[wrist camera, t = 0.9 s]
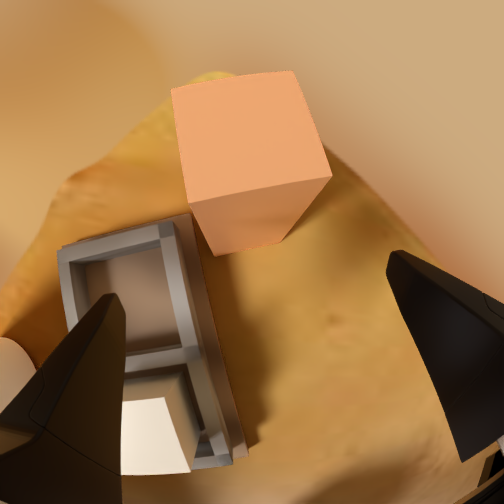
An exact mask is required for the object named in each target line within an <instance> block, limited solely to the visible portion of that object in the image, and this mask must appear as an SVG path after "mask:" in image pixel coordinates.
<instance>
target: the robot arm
mask: <svg viewBox="0 0 504 504" xmlns="http://www.w3.org/2000/svg"><path fill="white" fill-rule="evenodd" d="M386 276H387V279H388V282H389V284H390V287H391V289H392V292H393V294H394V297H395V299H396V302H397V305H398V307H399V310H400V312H401V314H402V316H403V319H404V321H405V323H406V325H407V327H408V329H409V331H410V333H411V335H412V337H413V339H414V342H415V344H416V346H417V348H418V350H419V352H420V355H421V357H422V359H423V361H424V364H425V366H426V368H427V371H428V373H429V375H430V378H431V380H432V382H433V385H434V387H435V390H436V392H437V395H438V397H439V400H440V402H441V405H442V407H443V410H444V412H445V416H446V419H447V421H448V424H449V427H450V430H451V433H452V435H453V438H454V441H455V444H456V447H457V451H458V454H459V457H460V460H461V462H462V463H463V462H465V461H466V460H468V459H470V458H471V457H473V456H474V455H476V454H477V453H479V452H480V451H482V450H483V449H485V448H486V447H488V446H489V445H491V444H492V443H494V442H495V441H496V442H497V444H498V446H499V448H500V449H498V450H497V451H496V452H494V453H493V454H492V455H490V456H489V457H487V458H486V461H485V465H484V468H483V471H482V474H481V478H480V481H479V483H478V486H477V487H478V488H477V489H475V490H474V491H472V492H471V493H469V494H468V495H466V496H465V497H463V498H462V499H460V500H458V501H457V502H455V503H454V504H504V304H503V303H501V302H499V301H497V300H496V299H494V298H492V297H490V296H489V295H487V294H485V293H482V292H481V291H480V290H478V289H476V288H474V287H473V286H471V285H469V284H467V283H465V282H463V281H461V280H460V279H458V278H456V277H454V276H452V275H451V274H449V273H447V272H445V271H443V270H441V269H439V268H437V267H435V266H433V265H431V264H430V263H428V262H426V261H424V260H422V259H420V258H418V257H416V256H414V255H412V254H410V253H408V252H406V251H404V250H396V251H392V252H391V253H390V256H389V260H388V264H387V268H386ZM125 363H126V313H125V310H124V308H123V305H122V303H121V301H120V299H119V297H118V295H117V294H116V293H114V292H112V293H105V294H103V295H102V296H101V297H100V298H99V299H98V300H97V302H96V303H95V304H94V305H93V306H92V307H91V308H90V309H89V310H88V311H87V313H86V314H85V315H84V316H83V317H82V318H81V319H80V320H79V322H78V323H77V324H76V325H75V326H74V327H73V328H72V329H71V331H70V332H69V333H68V334H67V335H66V336H65V338H64V339H63V340H62V341H61V342H60V343H59V345H58V346H57V347H56V348H55V349H54V351H53V352H52V353H51V354H50V355H49V357H48V358H47V359H46V360H45V361H44V363H43V364H42V367H40V368H39V369H38V370H37V371H36V373H35V374H34V375H33V376H32V377H31V379H30V380H29V381H28V382H27V384H26V385H25V386H24V387H23V388H22V389H21V391H20V392H19V393H18V394H17V395H16V396H15V397H14V398H13V400H12V401H11V402H10V403H9V404H8V405H7V406H6V407H5V409H4V410H3V411H2V412H1V413H0V504H122V486H121V423H122V402H123V387H124V375H125Z"/></svg>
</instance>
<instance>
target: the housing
mask: <svg viewBox="0 0 504 504" xmlns="http://www.w3.org/2000/svg"><path fill="white" fill-rule="evenodd" d="M57 260H58V269H59V278H60V285H61V292H62V298H63V304H64V310H65V316H66V321H67V326H68V331H69V332H70V331H71V329H72V328H73V327H74V326H75V325H76V324H77V323H78V322H79V320H80V319H81V318H82V317H83V316H84V315H85V314H86V313H87V311H88V310H89V309H90V308H91V307H92V306H93V305H94V304H95V303H96V302H97V300H98V299H99V298H100V297H101V296H102V295H103V294H105V293H112V292H114V293H116V294H117V295H118V297H119V299H120V301H121V303H122V305H123V308H124V310H125V313H126V363H125V375H124V380H126V379H134V378H142V377H149V376H156V375H163V374H170V373H176V372H182V371H183V374H184V378H185V381H186V385H187V388H188V392H189V395H190V398H191V402H192V405H193V408H194V412H195V415H196V418H197V421H198V424H199V427H200V430H201V433H200V437H199V441H198V445H197V449H196V453H195V457H194V461H193V465H192V469H191V470H195V469H204V468H212V467H219V466H226V465H232V464H233V459H236V458H241V457H247V456H249V451H248V447H247V443H246V440H245V437H244V433H243V430H242V426H241V423H240V419H239V416H238V412H237V409H236V405H235V401H234V398H233V394H232V390H231V387H230V383H229V379H228V375H227V371H226V367H225V364H224V360H223V356H222V352H221V348H220V344H219V339H218V335H217V331H216V327H215V323H214V319H213V314H212V310H211V306H210V301H209V297H208V292H207V288H206V283H205V278H204V274H203V269H202V264H201V260H200V255H199V250H198V245H197V240H196V235H195V230H194V224H193V219H192V216H191V214H190V213H187V214H183V215H179V216H175V217H170V218H166V219H162V220H158V221H154V222H150V223H146V224H142V225H138V226H134V227H130V228H126V229H122V230H118V231H114V232H111V233H107V234H103V235H100V236H96V237H92V238H89V239H85V240H81V241H78V242H74V243H71V244H67V245H64V246H62V249H61V250H57Z"/></svg>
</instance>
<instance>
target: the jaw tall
mask: <svg viewBox="0 0 504 504" xmlns="http://www.w3.org/2000/svg"><path fill="white" fill-rule="evenodd" d="M171 95H172V102H173V110H174V117H175V124H176V131H177V138H178V145H179V151H180V157H181V164H182V170H183V176H184V182H185V187H186V193H187V199H188V204H189V206H190V208H191V210H192V212H193V214H194V216H195V218H196V220H197V222H198V224H199V226H200V228H201V230H202V233H203V235H204V237H205V239H206V241H207V243H208V245H209V247H210V249H211V251H212V253H213V255H214V257H216V256H221V255H226V254H230V253H235V252H239V251H244V250H248V249H253V248H257V247H262V246H266V245H271V244H276V243H280V242H281V240H282V239H283V238H284V237H285V235H286V234H287V233H288V232H289V230H290V229H291V228H292V227H293V225H294V224H295V223H296V222H297V220H298V219H299V218H300V217H301V215H302V214H303V213H304V212H305V210H306V209H307V208H308V207H309V205H310V204H311V203H312V201H313V200H314V199H315V198H316V196H317V195H318V194H319V193H320V191H321V190H322V189H323V188H324V186H325V185H326V184H327V182H328V181H329V180H330V179H331V177H332V176H333V175H332V172H331V169H330V166H329V163H328V160H327V157H326V154H325V152H324V149H323V146H322V143H321V140H320V138H319V135H318V132H317V130H316V127H315V124H314V121H313V119H312V116H311V114H310V111H309V108H308V106H307V104H306V101H305V99H304V96H303V94H302V91H301V89H300V86H299V84H298V81H297V79H296V77H295V74H294V72H293V71H279V72H268V73H259V74H250V75H243V76H236V77H229V78H223V79H217V80H211V81H206V82H200V83H195V84H190V85H186V86H181V87H177V88H172V89H171Z"/></svg>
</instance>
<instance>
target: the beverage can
mask: <svg viewBox="0 0 504 504" xmlns="http://www.w3.org/2000/svg"><path fill="white" fill-rule="evenodd" d="M35 373H36V369H35V367H34V365H33V363H32V361H31V359H30V358H29V356H28V355H27V353H26V352H25V351H24V349H23V348H22V347H21V346H20V345H18V344H17V343H16V342H15V341H13V340H11V339H9V338H4V337H0V413H1V412H2V411H3V410H4V409H5V407H6V406H7V405H8V404H9V403H10V402H11V401H12V400H13V398H14V397H15V396H16V395H17V394H18V393H19V392H20V391H21V389H22V388H23V387H24V386H25V385H26V384H27V382H28V381H29V380H30V379H31V377H32V376H33V375H34V374H35Z"/></svg>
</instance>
